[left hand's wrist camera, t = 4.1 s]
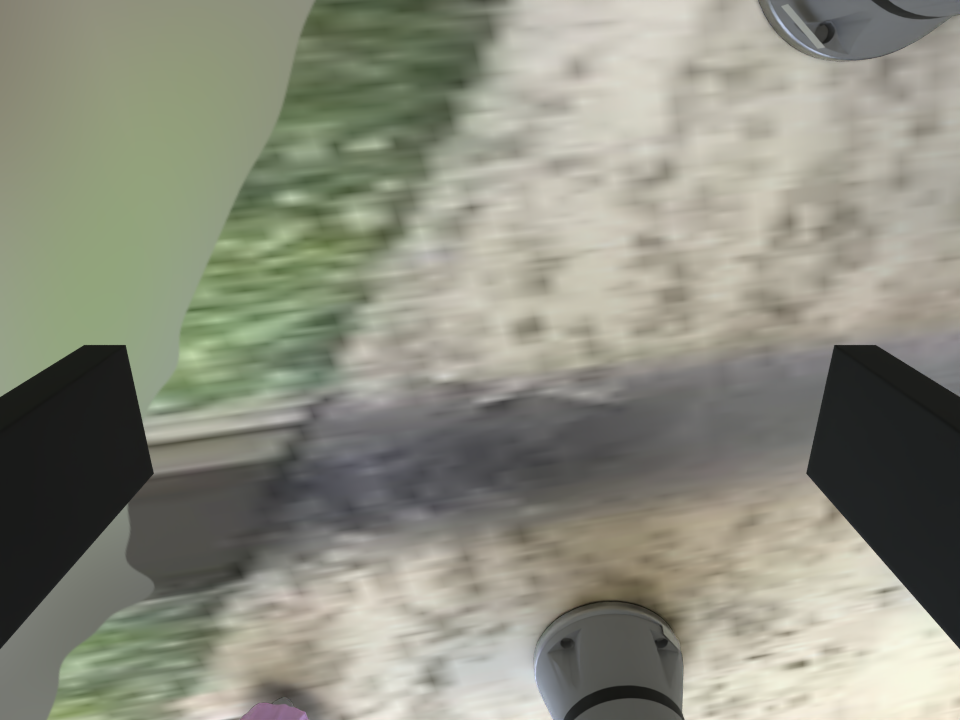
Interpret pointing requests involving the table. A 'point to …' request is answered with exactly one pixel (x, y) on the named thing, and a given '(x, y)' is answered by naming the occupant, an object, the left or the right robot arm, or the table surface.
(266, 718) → the toy character
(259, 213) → the table surface
